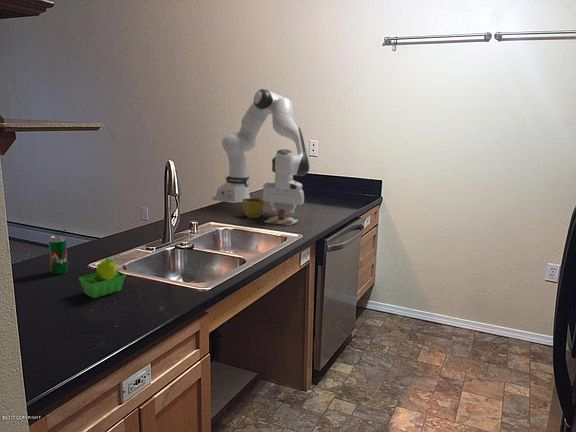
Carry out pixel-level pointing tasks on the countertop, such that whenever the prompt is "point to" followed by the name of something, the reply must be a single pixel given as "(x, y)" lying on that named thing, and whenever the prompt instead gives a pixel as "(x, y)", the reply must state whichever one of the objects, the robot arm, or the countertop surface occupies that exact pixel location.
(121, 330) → the countertop surface
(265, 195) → the robot arm
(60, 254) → the soda can
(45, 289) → the countertop surface
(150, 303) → the countertop surface
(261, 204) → the flower pot
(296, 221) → the mat
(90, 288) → the fruit basket
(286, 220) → the lid
